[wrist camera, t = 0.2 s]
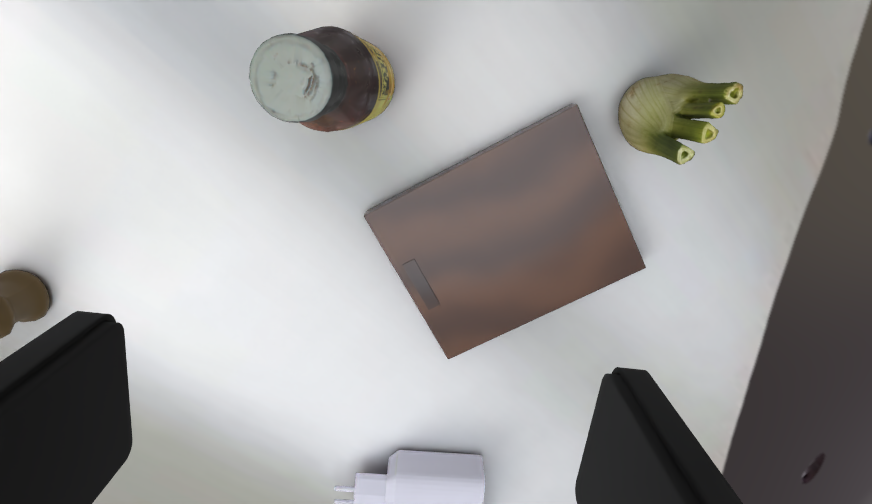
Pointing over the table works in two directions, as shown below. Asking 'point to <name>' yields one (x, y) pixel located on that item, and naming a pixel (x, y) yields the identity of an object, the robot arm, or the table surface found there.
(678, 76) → the fennel bulb
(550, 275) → the cutting board
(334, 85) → the sauce bottle
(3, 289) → the kendama
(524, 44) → the table surface
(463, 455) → the charger
